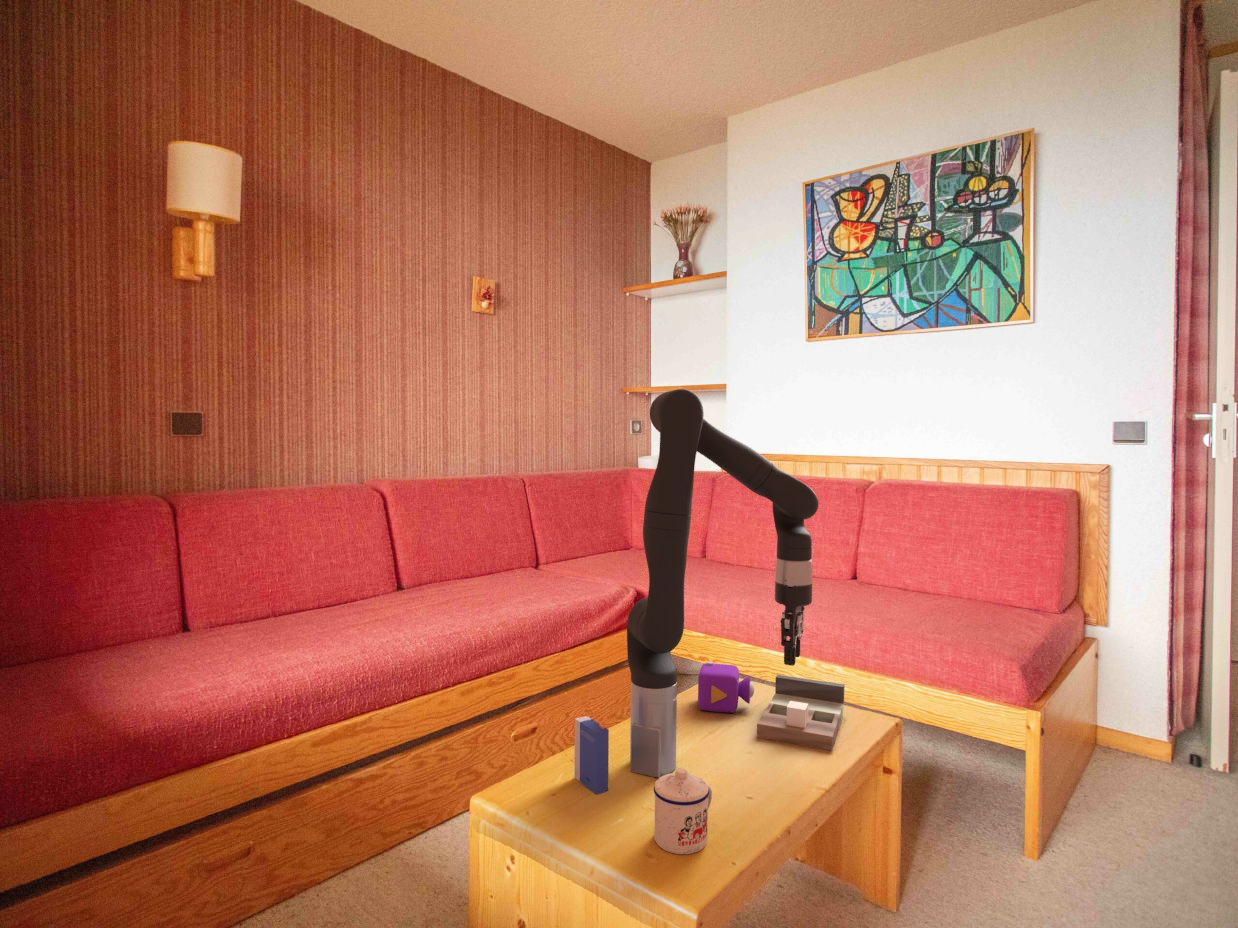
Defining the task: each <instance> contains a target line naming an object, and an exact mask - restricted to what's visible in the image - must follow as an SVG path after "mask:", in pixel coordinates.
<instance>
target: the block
mask: <svg viewBox="0 0 1238 928" xmlns="http://www.w3.org/2000/svg"><path fill="white" fill-rule="evenodd" d="M807 722H808V703H801V702H795V701H790V702H789V704H788V706H787V720H786V725H790V726H795V727H801V728H805V727H806V725H807Z"/></svg>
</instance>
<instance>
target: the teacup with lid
mask: <svg viewBox="0 0 1238 928" xmlns="http://www.w3.org/2000/svg"><path fill="white" fill-rule="evenodd" d="M652 789H653V793H654V840H655V842H656V844H657V845H658V847H660V848H661V849H662V850H664V851H666V852H668V853H671V854H675V855H676V854H677V855H691V854H695V853H698V852H699V851H701V850H703V849H704V848H705V847H706V845H707V843H708V818H709V817H708V812H709V811H708V810H709V809H710V806H711V803H712V799H713V790H712V787H710V786H709V785H708V784H707V782H706V781H705V780H704V779H703V778H701V777H699V776H697V775H695V774H692V773H688V770H687V769H686V768H683V767H681V768H677V769H676V770H675V771H674V772H670V773H668V774H665V775H662V776H661V777H660V778H658V779H657V780H656V781H655V782H654V785H653V788H652Z"/></svg>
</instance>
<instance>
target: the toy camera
mask: <svg viewBox="0 0 1238 928" xmlns="http://www.w3.org/2000/svg"><path fill="white" fill-rule="evenodd" d="M698 673H699V674H698V679H697V680H698V682H697V704H698V708H699V710H702V711H707V712H715V713H716V712H717V713H725V714H726V713H727V714H728V713H731V714H732V713H735V712H736V711H737V709H738V704H739V698H741V700H743V701H744V702H745V703H747V704H748V705H750V702H751V698H752V697H753V696H754V694H755V687H754V684H753V683H752V682H751V676H749V675H748V676H746V677H745V678H744V679H742V680H740V671H739V668H738V666H736V665H735V664H734V665H733V664H726V663H725V664H723V663H714V661H711V660H708V661H707V662H706V663H703V664H702V665H701V667H700V670H699V672H698Z"/></svg>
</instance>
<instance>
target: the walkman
mask: <svg viewBox="0 0 1238 928" xmlns="http://www.w3.org/2000/svg"><path fill="white" fill-rule="evenodd" d="M574 721H575V722H574V779H575V780H577V781H578V782H579V783H581V784H582V785H583V786H584V787H586V788H587V789H588V790H589V791H591V792H592V793H594V795H596V796H597V795H600V794H602V793H605V792H607V791H608V792H609V753H610V752H609V748H610V747H609V745H610V743H609V740H610V736H609V735H610V733H609V731H610V729H608V728H607V727H606V725H604V724H602V723H599V722H598V721H596V720H594V719H593V718H591V717H589V716H588V715H585V716H581V717H575V718H574Z"/></svg>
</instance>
